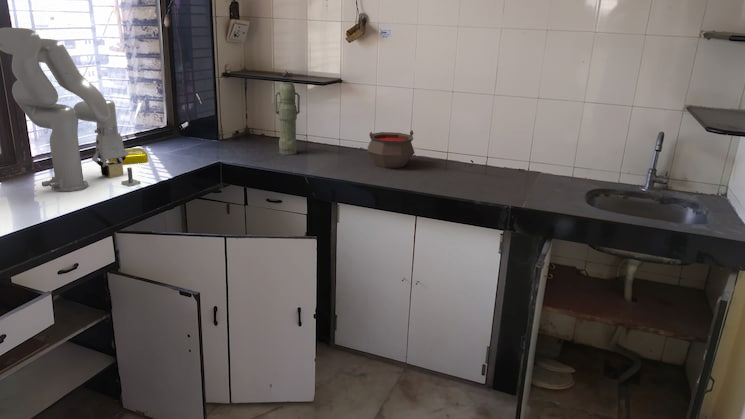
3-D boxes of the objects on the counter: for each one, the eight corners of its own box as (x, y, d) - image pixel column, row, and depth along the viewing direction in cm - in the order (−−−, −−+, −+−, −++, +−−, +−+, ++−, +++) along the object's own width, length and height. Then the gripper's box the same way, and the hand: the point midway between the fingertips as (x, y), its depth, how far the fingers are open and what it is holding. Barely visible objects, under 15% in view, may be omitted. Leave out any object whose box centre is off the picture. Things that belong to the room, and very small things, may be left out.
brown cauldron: (401, 157, 284) (403, 125, 279) (423, 168, 264) (426, 134, 258) (357, 160, 275) (358, 127, 270) (376, 172, 255) (378, 136, 249)
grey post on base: (129, 186, 220) (127, 170, 217) (121, 183, 222) (119, 168, 220) (140, 183, 224) (138, 167, 221) (132, 181, 226) (131, 165, 224)
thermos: (301, 154, 281) (301, 83, 270) (277, 155, 278) (276, 83, 267) (298, 151, 289) (298, 81, 278) (275, 151, 286) (274, 81, 275)
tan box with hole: (110, 178, 230) (108, 166, 228) (101, 175, 233) (100, 163, 231) (123, 175, 234) (122, 163, 233) (115, 172, 237) (113, 161, 236)
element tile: (142, 156, 268) (141, 146, 266) (149, 163, 256) (148, 153, 254) (108, 159, 260) (107, 149, 259) (113, 166, 248) (112, 156, 247)
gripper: (92, 135, 219) (98, 179, 225) (132, 129, 232) (136, 171, 238) (81, 132, 223) (87, 176, 228) (121, 127, 236) (126, 168, 242)
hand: (112, 173), depth 233 cm, fingers closed on tan box with hole, 6 cm apart
